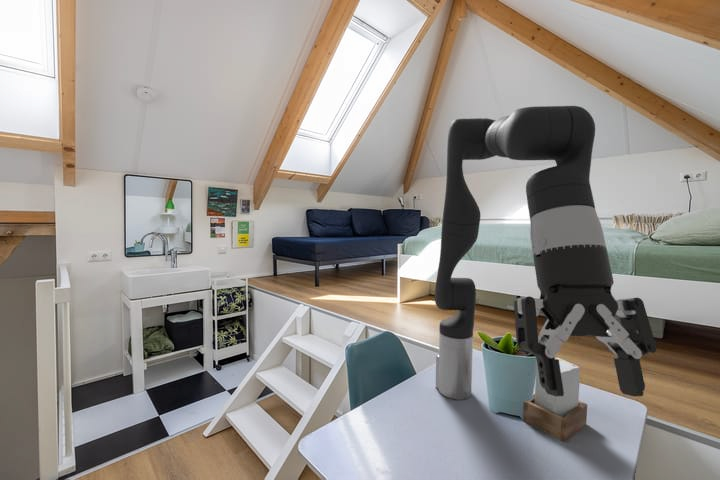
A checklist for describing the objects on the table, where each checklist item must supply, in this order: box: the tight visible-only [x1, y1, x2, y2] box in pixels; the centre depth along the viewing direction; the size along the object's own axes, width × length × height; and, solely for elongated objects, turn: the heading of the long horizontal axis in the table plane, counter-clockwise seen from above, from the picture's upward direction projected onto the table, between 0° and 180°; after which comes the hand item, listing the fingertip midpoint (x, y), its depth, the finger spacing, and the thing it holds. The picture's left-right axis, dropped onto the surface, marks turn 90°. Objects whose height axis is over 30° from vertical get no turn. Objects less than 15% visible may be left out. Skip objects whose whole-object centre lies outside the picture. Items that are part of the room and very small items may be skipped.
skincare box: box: [534, 357, 581, 417], centre depth 76 cm, size 8×6×15 cm
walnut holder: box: [522, 393, 588, 444], centre depth 77 cm, size 10×12×5 cm
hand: (593, 395), depth 34 cm, fingers open, 8 cm apart
